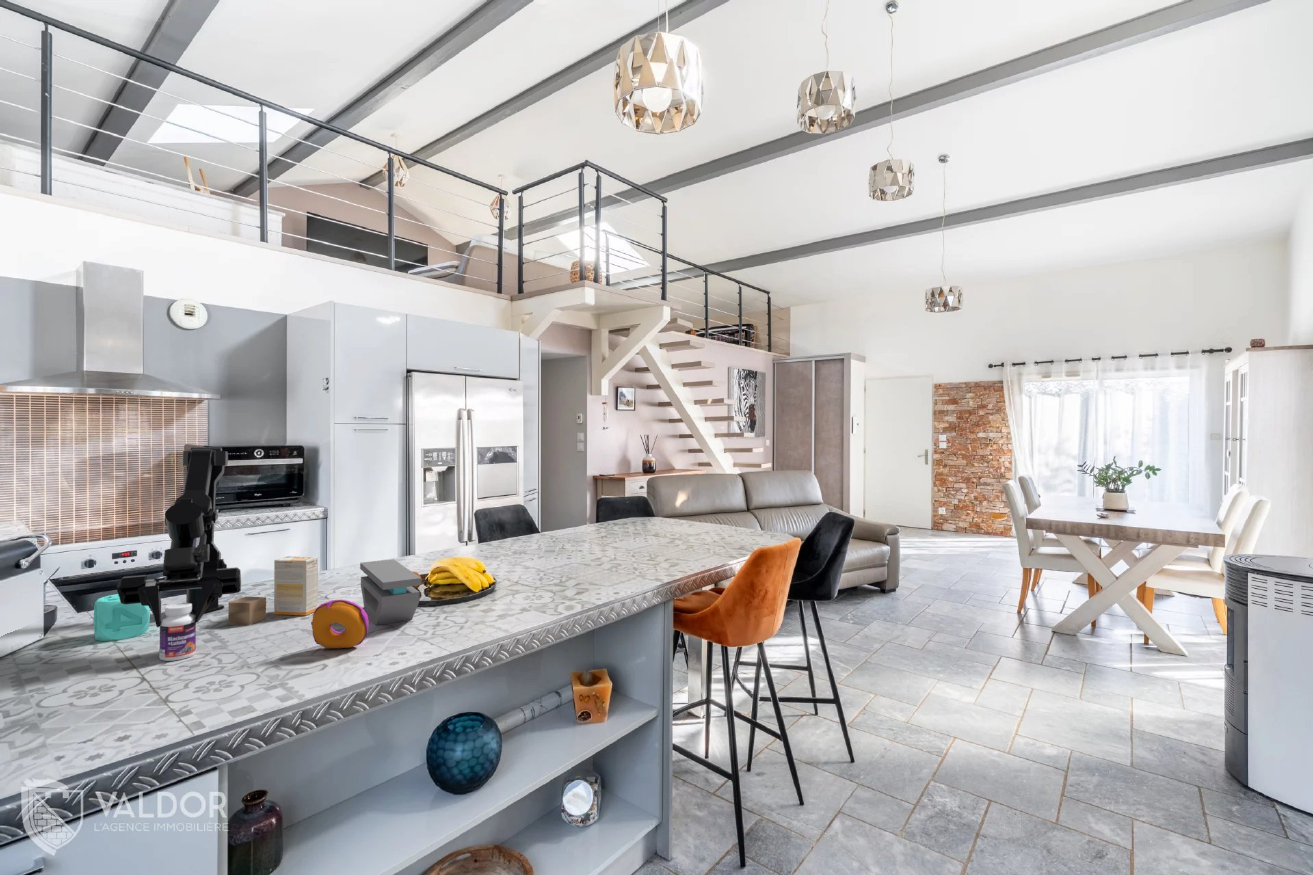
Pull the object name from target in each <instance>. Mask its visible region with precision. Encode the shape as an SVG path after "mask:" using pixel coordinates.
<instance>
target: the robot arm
mask: <svg viewBox="0 0 1313 875" xmlns="http://www.w3.org/2000/svg"><path fill="white" fill-rule="evenodd" d="M228 462H229V453H228V451H225V450H223V448H222V447H221V446H220V447H218V446H217V447H215V446H214V447H213V446H211V447H209V446H208V447H205V446H204V447H203V446H201V447H199V446H198V447H197V446H196V447H195V446H191V447H190V450H183V452H182V466H183V467H186V471H187V473H186V479H185V484H184V485H185V486H184V489H183V490H184V491H183V494H181V495H180V496H179V497H177V498H176V499H175V500H174V503H173V505H171V506H170V507H168V508H167V509H166V511H165V513H164V524H165V526H166V528H167V533H168V534H167V535H168V537H169V539H170V540H171V541H170V546H169V548H166V549H165V550H164V553H163V564H162V567H163V571H162V576H163V577H165V578H164V580H158V579H156V578H155V579H154V578H151V579H148V575H147V574H140V575H130V576H123V577H122V578H120V579H119V580H118V581H117V585H116V591H117V594H118V595H119V598H120V601H121V603H122V604H135V603H141V605H143V606H149V608H150V611H151V612H152V614H153V618H154V623H155V625H156V628H160V622H161V620H162V599H161V592H175V591H185V590H186V592H185V593H186V598H185V599H186V602H185V603H191V604H192V612H190V614H193V615H195V623H196V624H198V623H199V622H200V620H201V619H202V617H203V615H204V614H206V613H210V612H213V611H217V610H221V609H225V605H222V604H219V599H221V598H222V597H223V595H231V594H238V593H240V592H241V591H242V590H241V589H242V575H241V574H242V572H241V569H240V568H238V567H228V565H227V563H225V559H224V558H222V553H221V551H220V550H219V549H218V547H217V546H216V544H215V543H214V540H215V539H214V538H215V524H216V521H218V519H219V514H218V513H217V510H216V494H217V493H216V491H217V490H216V489H217V488H216V487H217V483H218V482H219V480H220V479H221V478H222V476H224V474H225V467H226V466H228Z"/></svg>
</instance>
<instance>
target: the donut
mask: <svg viewBox="0 0 1313 875" xmlns="http://www.w3.org/2000/svg"><path fill="white" fill-rule="evenodd" d="M312 614H313V615H312V621H311V622H310V624H311V629H312V636H313V640H314V642H315V643H316V644H317V645H320V646H321V647H323V648H326V649H338V650H340V649H343V648H344V649H348V648H353V647H357V646H358V645H360V644H361V643H363V642H364V640H365V639H366V637H367V635H368V631H369V630H368V629H369V623H370V622H369V617H368V615H367V613H366V612H365V609H364V607H362V606H360V605H359V604H358V603H356V602H354V601H350V600H346V599H333V600H329V601H326V602H324V603H322V604H320V605H318V608H316V610H315V612H313V613H312ZM332 624H339V625H340V626H343V627H344V628H345V630H344V631H337V630H335V629H334V628H333V626H332Z"/></svg>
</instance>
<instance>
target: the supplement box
mask: <svg viewBox="0 0 1313 875" xmlns="http://www.w3.org/2000/svg"><path fill="white" fill-rule="evenodd" d="M273 564H274V565H273V566H274V569H273V570H274V574H273V577H274V580H273V582H274V584H273V585H274V587H273V590H274V592H273V593H274V594H273V596H274V598H273V600H274V602H273V603H274V606H273V610H274V612H273V614H274V615H277V616H280V615H281V616H284V615H285V616H287V615H289V616H308V615H311V614H314V612H315V610H316V608H318V607H319V556H296V555H295V556H291V555H288V556H284V557H280V558H277V559H274V562H273Z"/></svg>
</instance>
